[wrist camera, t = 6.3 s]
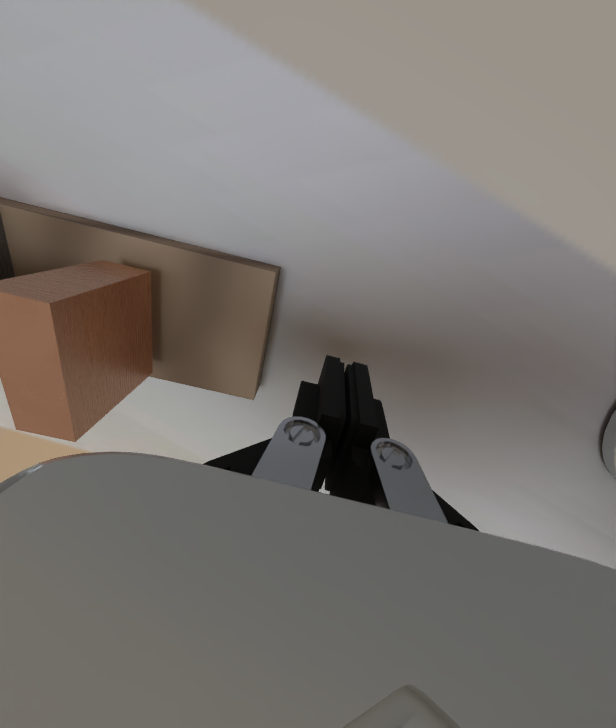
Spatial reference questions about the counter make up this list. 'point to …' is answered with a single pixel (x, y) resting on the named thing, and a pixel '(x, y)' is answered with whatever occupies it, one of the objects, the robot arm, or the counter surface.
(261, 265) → the shaft frame
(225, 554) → the robot arm
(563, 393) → the counter surface
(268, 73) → the counter surface
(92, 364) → the shaft
